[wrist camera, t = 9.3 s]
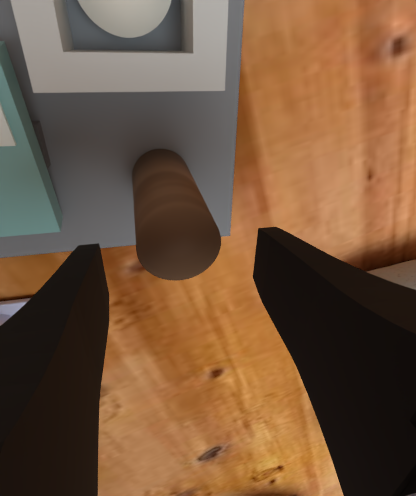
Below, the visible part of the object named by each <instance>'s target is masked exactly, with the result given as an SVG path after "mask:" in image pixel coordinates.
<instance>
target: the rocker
mask: <svg viewBox="0 0 416 496" xmlns="http://www.w3.org/2000/svg"><path fill="white" fill-rule="evenodd" d="M62 219H63V215H62V212H61V209H60V206H59V203H58V200H57V197H56V194H55V191H54V188H53V185H52V182H51V179H50V176H49V173H48V170H47V167H46V164H45V161H44V158H43V155H42V152H41V149H40V146H39V143H38V140H37V137H36V134H35V131H34V128H33V125H32V122H31V119H30V116H29V113H28V110H27V107H26V104H25V101H24V98H23V95H22V92H21V90H20V87H19V84H18V81H17V78H16V75H15V72H14V69H13V66H12V63H11V60H10V57H9V54H8V51H7V48H6V45H5V42H4V41H0V237H7V236H18V235H30V234H42V233H53V232H61V226H62Z"/></svg>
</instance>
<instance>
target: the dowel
mask: <svg viewBox="0 0 416 496" xmlns="http://www.w3.org/2000/svg"><path fill="white" fill-rule="evenodd" d="M132 184H133V201H134V219H135V236H136V251H137V256H138V259H139V261H140V263H141V264H142V266H143V267H144V268H145V269H146V270H147V271H148V272H150V273H151V274H153V275H154V276H157V277H159V278H162V279H166V280H184V279H189V278H192V277H194V276H197V275H199V274H200V273H202V272H203V271H205V270H206V269H207V268H208V267H210V266H211V264H212V263H213V262H214V261H215V259H216V257H217V255H218V253H219V250H220V246H221V235H220V232H219V229H218V227H217V225H216V223H215V221H214V219H213V217H212V215H211V213H210V211H209V209H208V207H207V205H206V203H205V201H204V199H203V197H202V195H201V193H200V191H199V189H198V187H197V185H196V183H195V181H194V179H193V177H192V175H191V173H190V171H189V169H188V167H187V165H186V163H185V161H184V160H183V159H182V157H181V156H179V155H178V154H177V153H175V152H173V151H171V150H167V149H154V150H151V151H148V152H146V153H145V154H143V155H142V156H141V157H140V158H139V159H138V160H137V162H136V163H135V165H134V168H133V172H132Z"/></svg>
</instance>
